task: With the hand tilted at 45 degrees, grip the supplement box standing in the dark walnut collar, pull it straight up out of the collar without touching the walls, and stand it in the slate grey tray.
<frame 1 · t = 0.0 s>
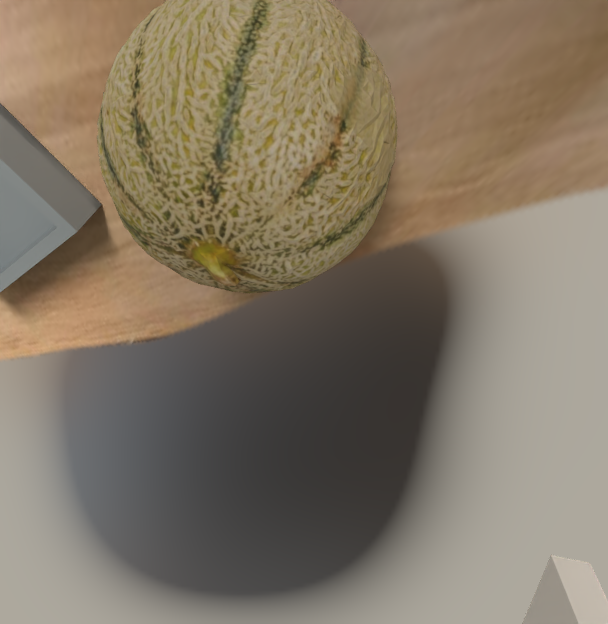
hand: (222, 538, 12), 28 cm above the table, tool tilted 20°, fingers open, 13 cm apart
cantaloupe: (278, 96, 34), on the table
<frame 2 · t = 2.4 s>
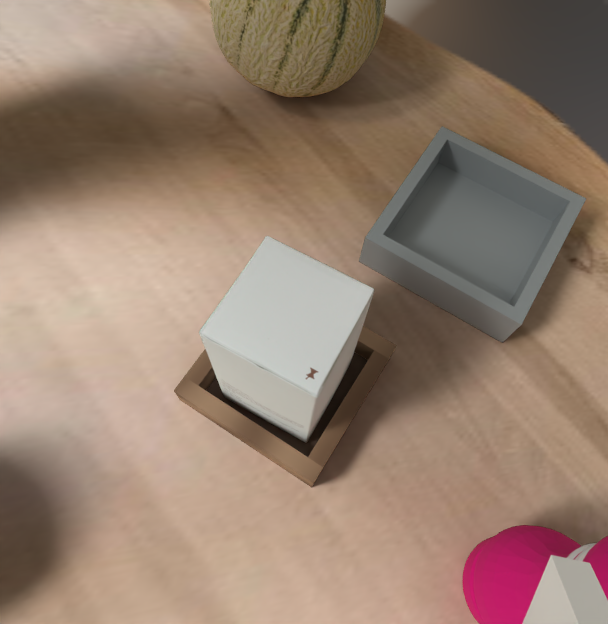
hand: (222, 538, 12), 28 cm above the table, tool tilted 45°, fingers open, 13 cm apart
supplement box: (287, 378, 42), resting in walnut collar
pepper mill: (507, 586, 37), on the table
slate tray: (463, 242, 47), on the table
walnut collar: (287, 377, 42), on the table
cantaloupe: (295, 73, 54), on the table
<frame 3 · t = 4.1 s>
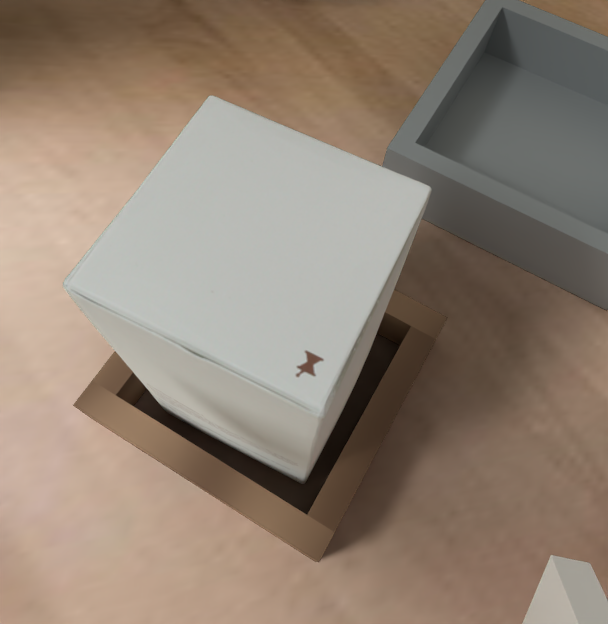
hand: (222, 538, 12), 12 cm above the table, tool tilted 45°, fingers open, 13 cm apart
supplement box: (270, 378, 26), resting in walnut collar
slate tray: (531, 163, 31), on the table
walnut collar: (269, 376, 26), on the table
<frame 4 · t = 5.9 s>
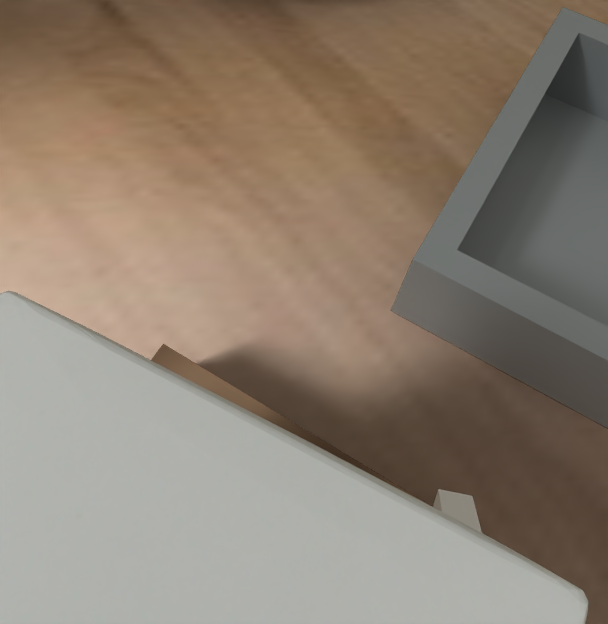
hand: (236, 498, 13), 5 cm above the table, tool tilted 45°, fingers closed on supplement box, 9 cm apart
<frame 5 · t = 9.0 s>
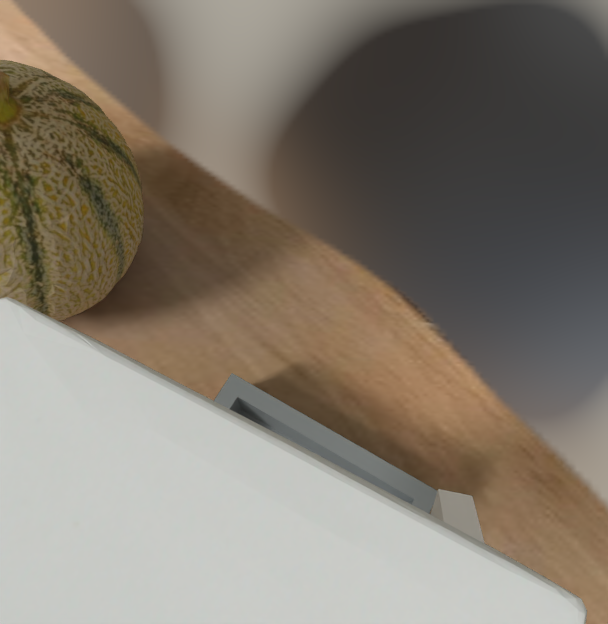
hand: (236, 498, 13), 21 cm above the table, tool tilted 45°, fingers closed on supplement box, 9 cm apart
slate tray: (272, 542, 32), on the table
cantaloupe: (58, 263, 39), on the table
when the fingers open (7 cm above the table, at t = 12.3 s): supplement box drops 2 cm, resting on slate tray.
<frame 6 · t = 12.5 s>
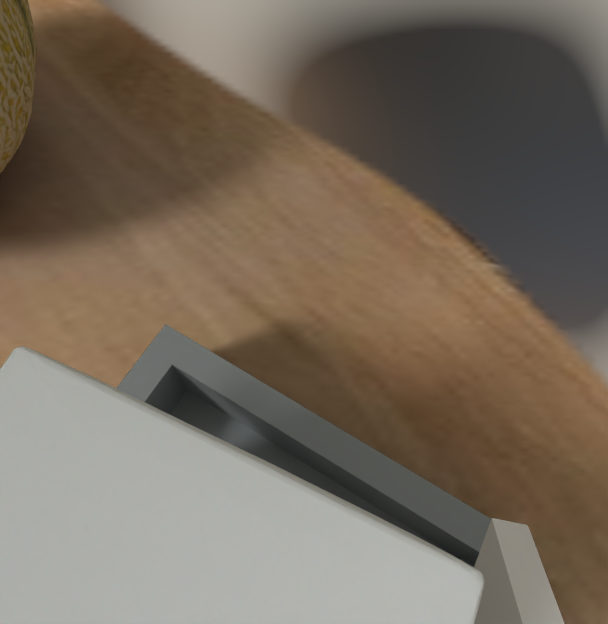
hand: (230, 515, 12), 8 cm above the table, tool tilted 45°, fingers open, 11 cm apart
slate tray: (229, 622, 18), on the table
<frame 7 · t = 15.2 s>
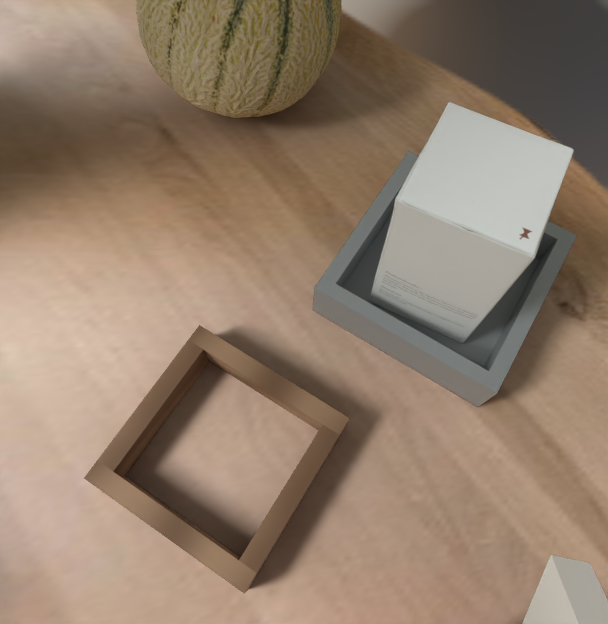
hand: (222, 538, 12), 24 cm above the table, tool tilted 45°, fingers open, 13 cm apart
supplement box: (432, 282, 40), point 1 cm above the table, touching slate tray
slate tray: (435, 285, 41), on the table
walnut collar: (224, 453, 36), on the table
cantaloupe: (248, 88, 48), on the table
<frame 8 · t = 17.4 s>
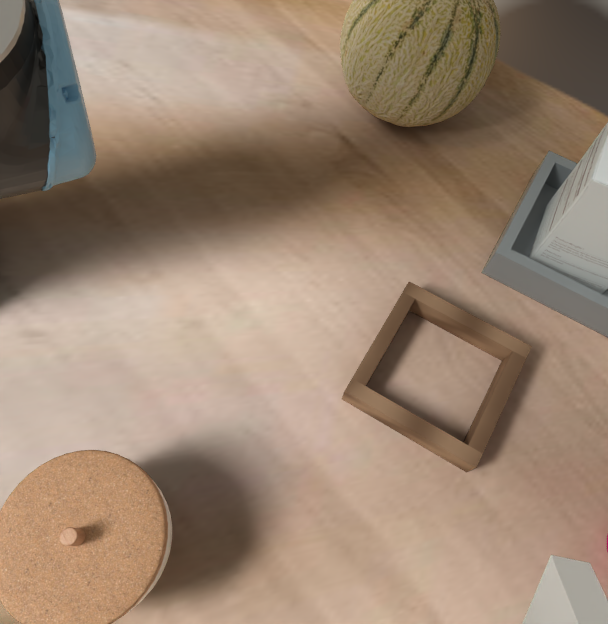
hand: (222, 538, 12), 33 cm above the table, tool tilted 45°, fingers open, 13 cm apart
supplement box: (570, 250, 52), point 1 cm above the table, touching slate tray
lidded jar: (113, 540, 42), on the table
slate tray: (571, 253, 53), on the table
walnut collar: (432, 377, 48), on the table
cantaloupe: (402, 104, 60), on the table
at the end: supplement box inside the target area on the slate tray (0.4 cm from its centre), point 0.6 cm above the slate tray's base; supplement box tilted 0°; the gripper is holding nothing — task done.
